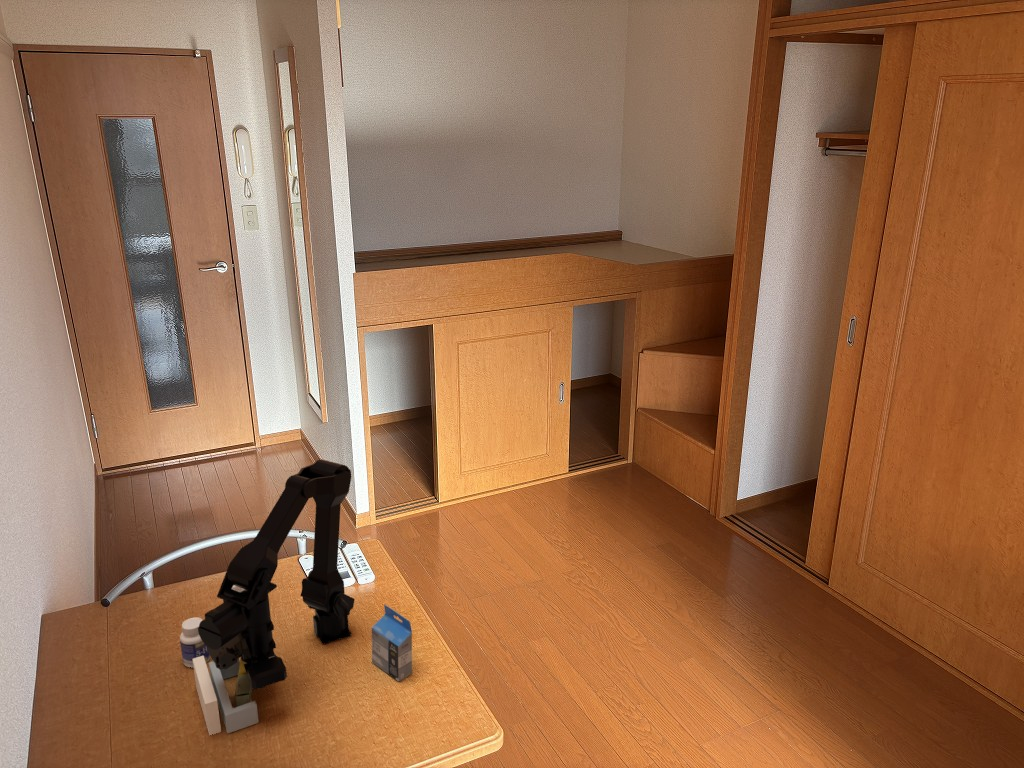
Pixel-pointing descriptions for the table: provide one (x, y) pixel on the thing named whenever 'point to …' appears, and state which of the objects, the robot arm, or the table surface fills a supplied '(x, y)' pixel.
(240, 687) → the medication box
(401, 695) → the table surface
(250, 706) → the cradle
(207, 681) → the wall
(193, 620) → the pill bottle
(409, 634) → the label tape box
